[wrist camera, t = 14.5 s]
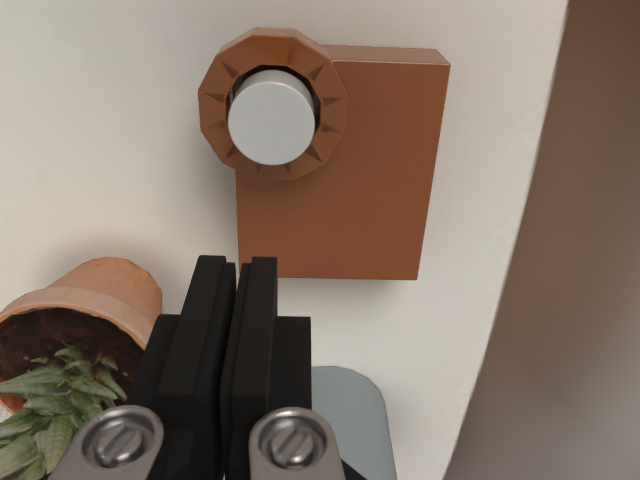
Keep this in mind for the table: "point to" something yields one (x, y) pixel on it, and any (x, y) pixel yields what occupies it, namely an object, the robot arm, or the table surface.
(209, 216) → the table surface
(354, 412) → the spray bottle
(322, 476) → the robot arm
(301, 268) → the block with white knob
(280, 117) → the white cylindrical plug
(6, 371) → the potted plant
